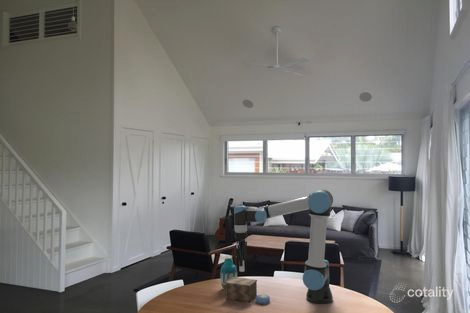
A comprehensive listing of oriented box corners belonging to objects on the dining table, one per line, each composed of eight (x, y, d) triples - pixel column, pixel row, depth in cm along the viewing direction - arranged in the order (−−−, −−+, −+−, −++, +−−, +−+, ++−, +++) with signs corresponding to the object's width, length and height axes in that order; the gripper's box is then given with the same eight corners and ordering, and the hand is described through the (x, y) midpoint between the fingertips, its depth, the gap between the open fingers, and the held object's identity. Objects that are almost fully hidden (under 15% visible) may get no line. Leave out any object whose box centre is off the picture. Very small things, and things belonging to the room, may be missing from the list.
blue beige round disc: (271, 300, 212) (271, 295, 212) (266, 305, 205) (266, 299, 205) (259, 298, 216) (258, 293, 216) (253, 303, 209) (253, 298, 209)
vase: (224, 292, 227) (223, 261, 227) (218, 287, 236) (218, 258, 237) (239, 290, 230) (239, 260, 231) (233, 285, 240) (233, 256, 241)
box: (256, 296, 219) (256, 281, 220) (249, 302, 209) (249, 286, 210) (234, 293, 226) (234, 278, 226) (226, 298, 216) (226, 283, 216)
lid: (257, 283, 219) (257, 279, 219) (248, 290, 208) (248, 285, 208) (233, 280, 226) (233, 276, 226) (224, 286, 215) (224, 282, 215)
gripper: (239, 229, 226) (240, 268, 225) (230, 233, 215) (231, 273, 214) (250, 230, 223) (252, 269, 222) (242, 233, 211) (243, 274, 210)
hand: (242, 271), depth 218 cm, fingers closed
